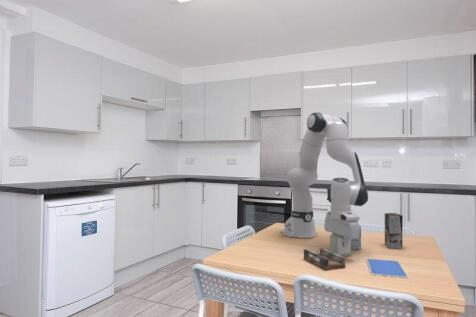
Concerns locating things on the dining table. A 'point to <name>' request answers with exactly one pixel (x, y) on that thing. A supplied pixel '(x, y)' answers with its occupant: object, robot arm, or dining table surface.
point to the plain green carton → (339, 245)
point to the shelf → (325, 259)
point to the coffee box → (393, 230)
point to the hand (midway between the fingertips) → (340, 245)
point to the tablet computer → (386, 268)
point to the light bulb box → (356, 242)
